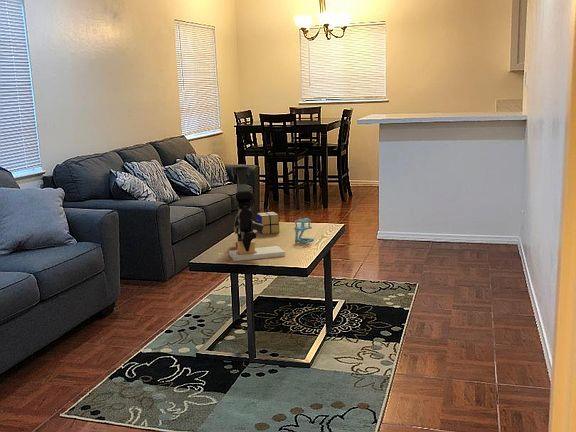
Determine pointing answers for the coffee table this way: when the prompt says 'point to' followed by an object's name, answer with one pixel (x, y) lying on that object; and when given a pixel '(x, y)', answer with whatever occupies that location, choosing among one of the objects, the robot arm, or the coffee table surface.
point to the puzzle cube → (269, 222)
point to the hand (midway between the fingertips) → (246, 250)
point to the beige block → (242, 249)
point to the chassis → (258, 253)
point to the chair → (302, 230)
